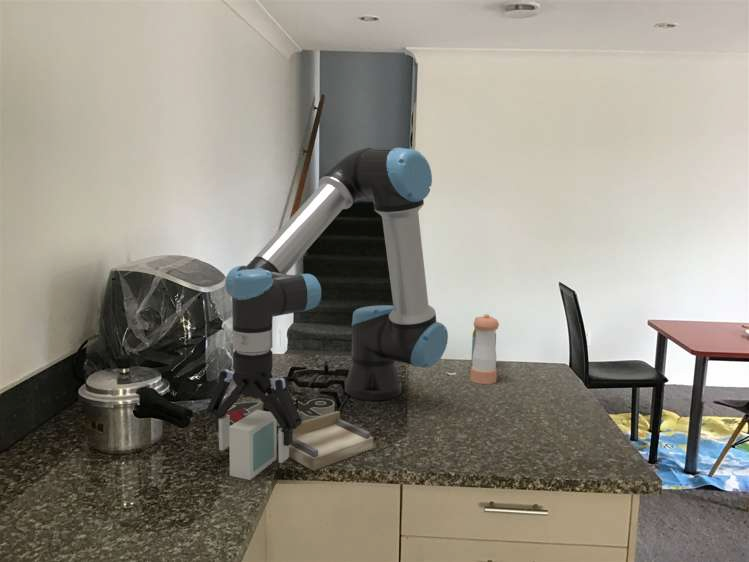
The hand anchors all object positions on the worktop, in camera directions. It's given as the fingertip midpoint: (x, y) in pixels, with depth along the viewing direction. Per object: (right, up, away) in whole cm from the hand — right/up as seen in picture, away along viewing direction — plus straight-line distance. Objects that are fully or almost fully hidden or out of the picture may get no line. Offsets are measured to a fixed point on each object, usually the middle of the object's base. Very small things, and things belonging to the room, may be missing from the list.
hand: (253, 453), depth 132 cm
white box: (0, -3, +1) cm, 3 cm away
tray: (+14, -2, +9) cm, 16 cm away
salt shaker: (+55, +6, +58) cm, 80 cm away
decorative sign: (+1, +1, +24) cm, 24 cm away
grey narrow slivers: (+57, +8, +71) cm, 91 cm away
